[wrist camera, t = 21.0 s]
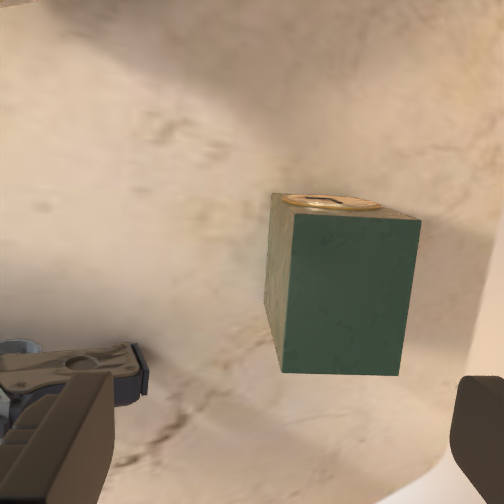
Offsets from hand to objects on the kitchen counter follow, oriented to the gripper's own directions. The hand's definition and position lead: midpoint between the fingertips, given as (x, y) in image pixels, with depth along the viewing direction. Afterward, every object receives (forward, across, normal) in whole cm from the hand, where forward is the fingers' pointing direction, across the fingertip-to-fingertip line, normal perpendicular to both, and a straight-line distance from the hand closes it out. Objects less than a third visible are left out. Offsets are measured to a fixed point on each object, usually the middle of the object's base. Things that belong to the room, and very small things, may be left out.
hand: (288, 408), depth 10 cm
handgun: (+21, +14, +8) cm, 27 cm away
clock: (+15, -5, +5) cm, 17 cm away
